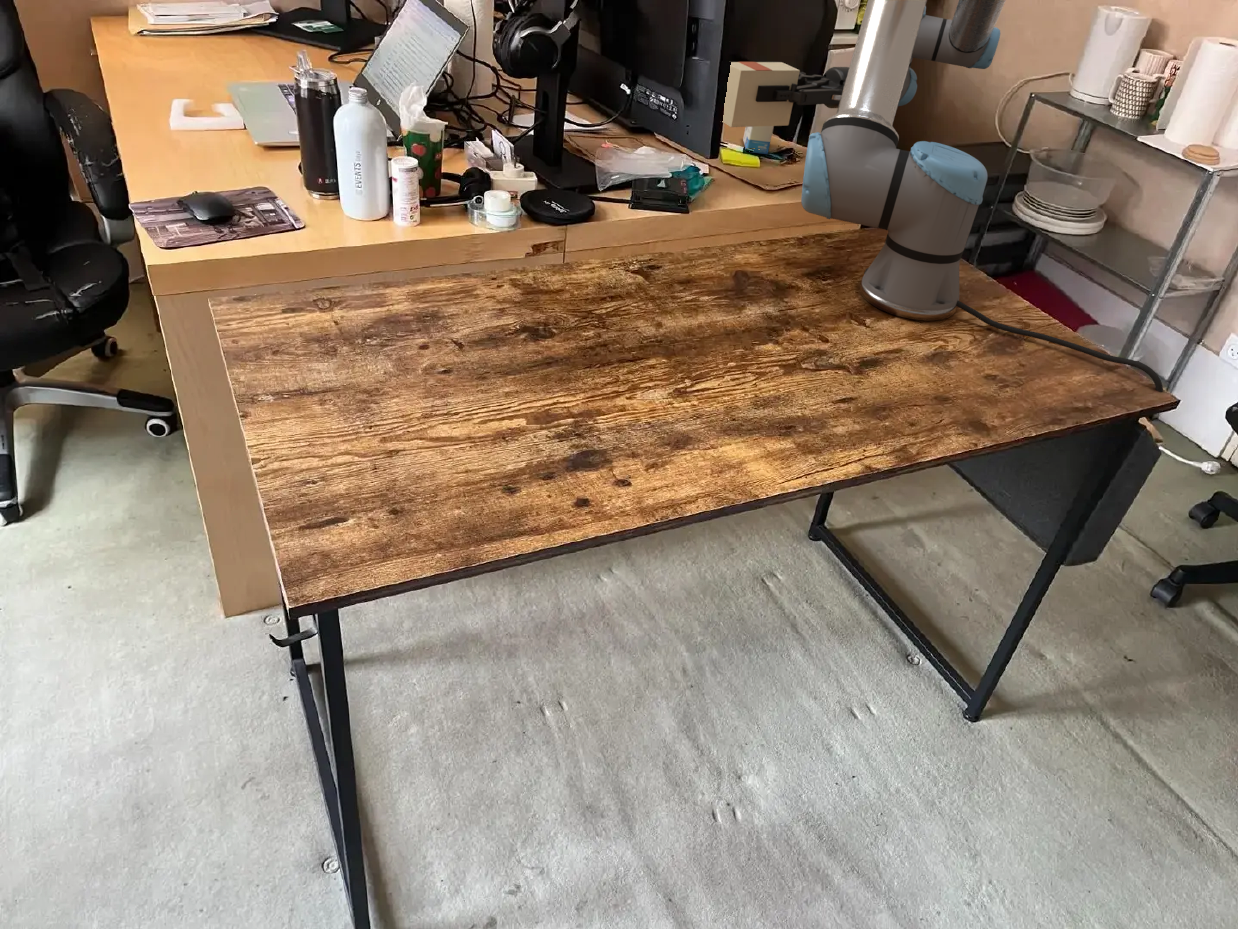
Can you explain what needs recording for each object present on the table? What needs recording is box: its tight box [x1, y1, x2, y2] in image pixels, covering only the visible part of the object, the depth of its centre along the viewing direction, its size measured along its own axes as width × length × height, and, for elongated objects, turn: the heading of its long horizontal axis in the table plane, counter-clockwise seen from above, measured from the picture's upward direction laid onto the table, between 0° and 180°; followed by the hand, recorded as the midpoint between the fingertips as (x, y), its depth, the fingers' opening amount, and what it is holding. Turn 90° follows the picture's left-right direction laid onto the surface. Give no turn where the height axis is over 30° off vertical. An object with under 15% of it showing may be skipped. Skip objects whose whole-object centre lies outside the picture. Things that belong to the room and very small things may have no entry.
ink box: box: [742, 126, 775, 155], centre depth 193 cm, size 8×5×12 cm, turn 179°
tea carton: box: [722, 61, 801, 128], centre depth 170 cm, size 13×6×10 cm, turn 116°
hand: (748, 88), depth 168 cm, fingers closed on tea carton, 6 cm apart
